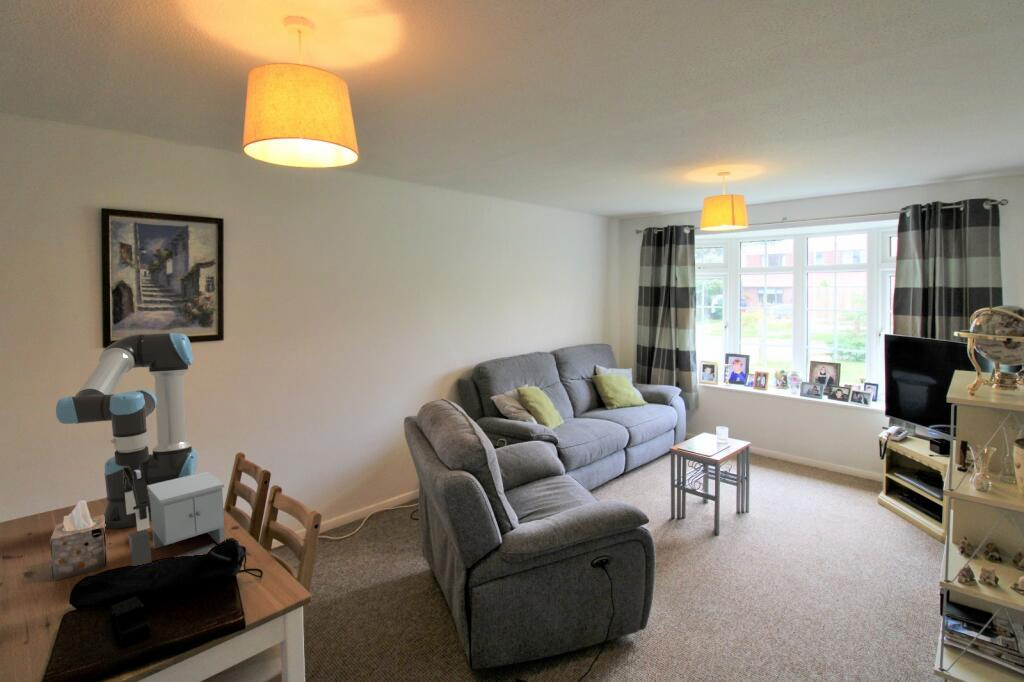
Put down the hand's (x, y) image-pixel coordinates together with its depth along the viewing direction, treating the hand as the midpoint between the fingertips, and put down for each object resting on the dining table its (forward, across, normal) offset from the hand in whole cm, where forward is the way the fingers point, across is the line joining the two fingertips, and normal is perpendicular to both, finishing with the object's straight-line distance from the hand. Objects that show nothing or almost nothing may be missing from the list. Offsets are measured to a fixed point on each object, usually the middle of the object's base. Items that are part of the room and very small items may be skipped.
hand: (137, 520), depth 144 cm
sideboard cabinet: (+16, -7, +14) cm, 22 cm away
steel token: (+16, +4, +14) cm, 21 cm away
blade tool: (+16, +1, +8) cm, 18 cm away
